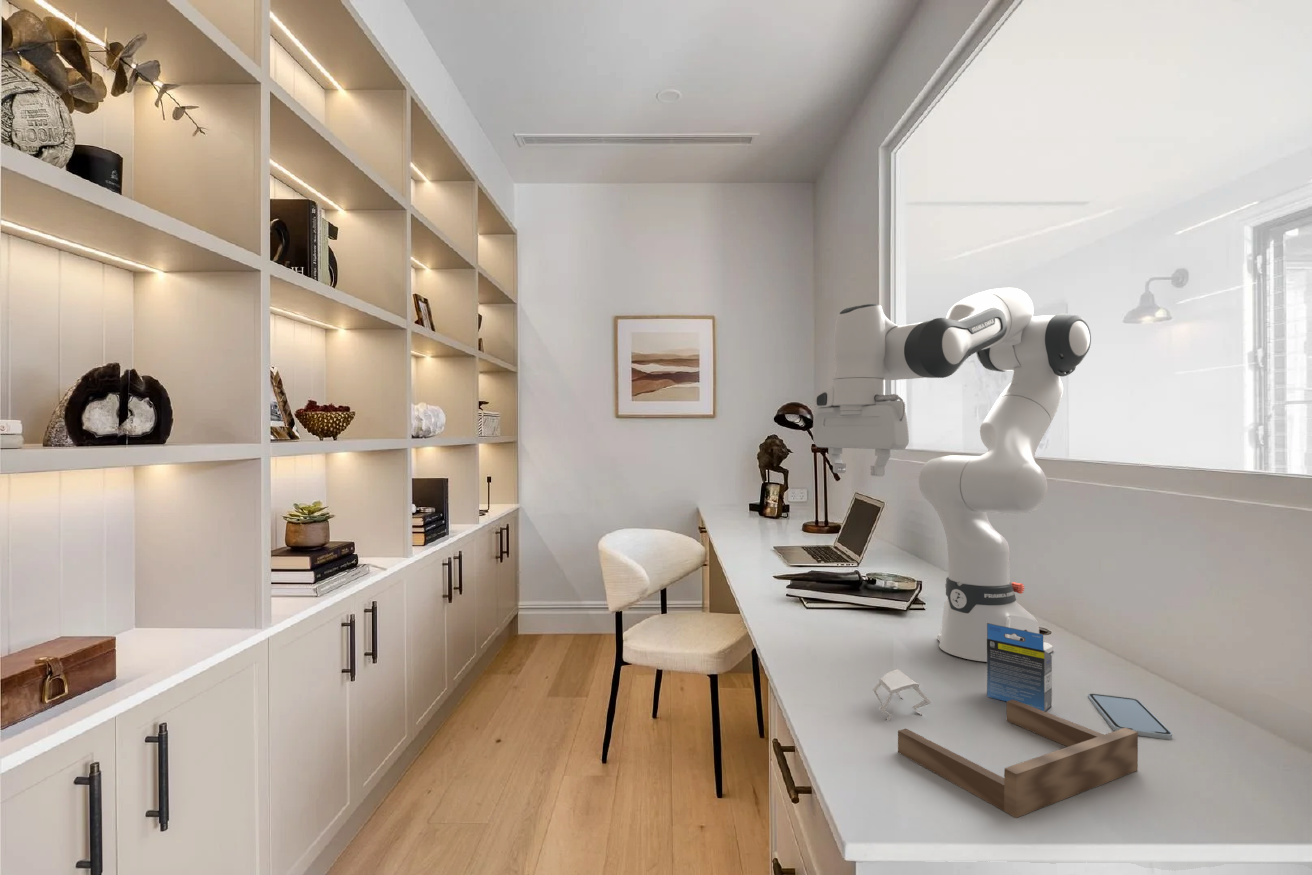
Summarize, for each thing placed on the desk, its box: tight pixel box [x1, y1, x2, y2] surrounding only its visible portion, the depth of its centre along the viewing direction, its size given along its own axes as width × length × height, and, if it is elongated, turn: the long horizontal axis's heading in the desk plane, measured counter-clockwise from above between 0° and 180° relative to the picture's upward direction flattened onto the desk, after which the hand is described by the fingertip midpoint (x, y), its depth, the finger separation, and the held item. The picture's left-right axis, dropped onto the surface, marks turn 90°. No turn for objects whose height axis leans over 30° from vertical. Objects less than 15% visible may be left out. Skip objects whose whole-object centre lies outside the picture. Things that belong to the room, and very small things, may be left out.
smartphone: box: [1087, 693, 1173, 740], centre depth 104 cm, size 7×1×15 cm
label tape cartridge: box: [986, 623, 1053, 712], centre depth 110 cm, size 9×4×12 cm, turn 42°
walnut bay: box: [897, 700, 1139, 819], centre depth 90 cm, size 24×18×5 cm
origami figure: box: [872, 668, 932, 721], centre depth 107 cm, size 12×8×5 cm
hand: (857, 474), depth 119 cm, fingers open, 8 cm apart
